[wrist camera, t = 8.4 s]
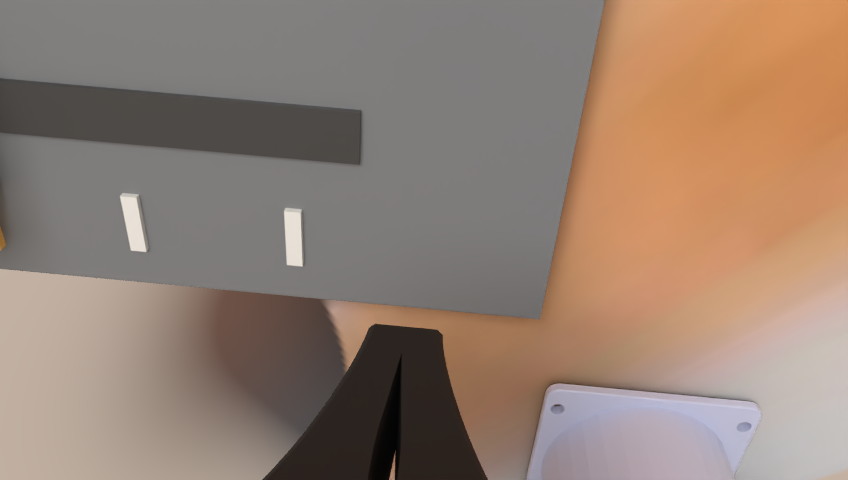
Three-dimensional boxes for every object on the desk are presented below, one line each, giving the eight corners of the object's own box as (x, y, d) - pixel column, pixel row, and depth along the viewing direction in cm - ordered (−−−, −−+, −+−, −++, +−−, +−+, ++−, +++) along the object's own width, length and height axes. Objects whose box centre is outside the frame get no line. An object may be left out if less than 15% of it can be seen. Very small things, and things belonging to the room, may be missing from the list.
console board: (537, 291, 24) (540, 325, 23) (-256, 217, 25) (-302, 246, 24) (610, -86, 18) (622, -73, 16) (-473, -175, 18) (-559, -171, 17)
